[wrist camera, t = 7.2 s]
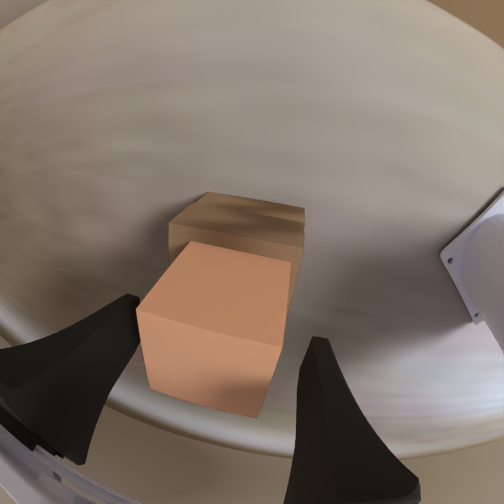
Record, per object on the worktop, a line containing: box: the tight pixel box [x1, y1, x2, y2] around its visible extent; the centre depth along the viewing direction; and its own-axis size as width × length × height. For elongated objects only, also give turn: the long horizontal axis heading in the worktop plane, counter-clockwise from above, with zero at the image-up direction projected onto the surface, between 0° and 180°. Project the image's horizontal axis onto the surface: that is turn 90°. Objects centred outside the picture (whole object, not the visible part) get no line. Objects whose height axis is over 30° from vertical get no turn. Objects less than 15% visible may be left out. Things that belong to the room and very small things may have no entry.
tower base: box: [196, 192, 305, 226], centre depth 17 cm, size 6×6×3 cm
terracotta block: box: [136, 241, 291, 418], centre depth 11 cm, size 4×4×5 cm
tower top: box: [169, 203, 304, 317], centre depth 15 cm, size 6×6×3 cm
